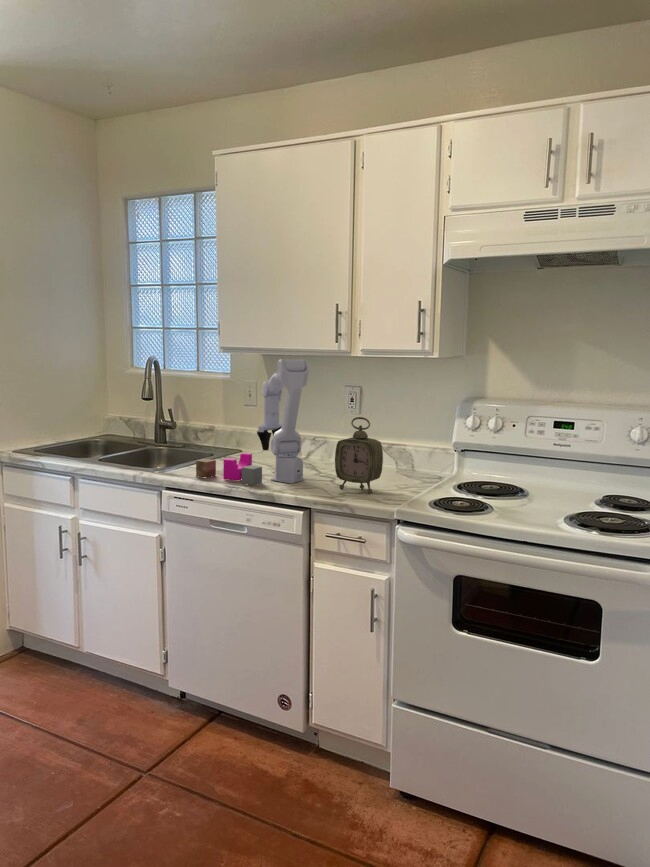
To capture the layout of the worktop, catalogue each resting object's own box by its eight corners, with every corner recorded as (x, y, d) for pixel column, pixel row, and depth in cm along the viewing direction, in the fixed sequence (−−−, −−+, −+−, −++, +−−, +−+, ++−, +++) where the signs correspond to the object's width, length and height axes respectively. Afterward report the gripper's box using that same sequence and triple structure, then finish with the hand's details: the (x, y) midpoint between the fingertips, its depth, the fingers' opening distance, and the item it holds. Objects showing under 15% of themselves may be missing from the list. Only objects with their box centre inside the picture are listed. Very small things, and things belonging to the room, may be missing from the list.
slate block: (261, 483, 233) (262, 466, 232) (253, 486, 228) (253, 469, 228) (250, 481, 235) (250, 465, 234) (241, 484, 231) (241, 467, 230)
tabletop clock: (334, 489, 226) (335, 416, 222) (347, 484, 233) (348, 414, 230) (372, 495, 218) (374, 420, 215) (384, 490, 226) (386, 417, 222)
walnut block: (215, 476, 243) (215, 460, 242) (206, 478, 239) (206, 462, 238) (205, 474, 246) (205, 458, 245) (196, 476, 242) (196, 460, 241)
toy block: (239, 481, 236) (239, 461, 235) (223, 480, 238) (223, 459, 237) (257, 474, 250) (258, 454, 248) (242, 472, 252) (243, 453, 251)
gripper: (273, 411, 260) (273, 445, 262) (251, 414, 247) (251, 450, 249) (288, 412, 256) (288, 447, 258) (267, 415, 244) (266, 452, 246)
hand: (271, 448), depth 254 cm, fingers open, 7 cm apart
